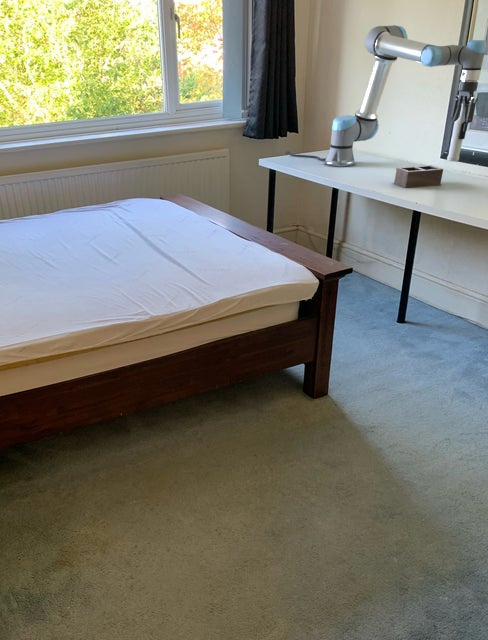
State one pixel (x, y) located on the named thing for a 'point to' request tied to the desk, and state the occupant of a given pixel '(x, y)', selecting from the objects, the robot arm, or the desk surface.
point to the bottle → (456, 139)
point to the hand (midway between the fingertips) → (457, 137)
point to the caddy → (418, 176)
